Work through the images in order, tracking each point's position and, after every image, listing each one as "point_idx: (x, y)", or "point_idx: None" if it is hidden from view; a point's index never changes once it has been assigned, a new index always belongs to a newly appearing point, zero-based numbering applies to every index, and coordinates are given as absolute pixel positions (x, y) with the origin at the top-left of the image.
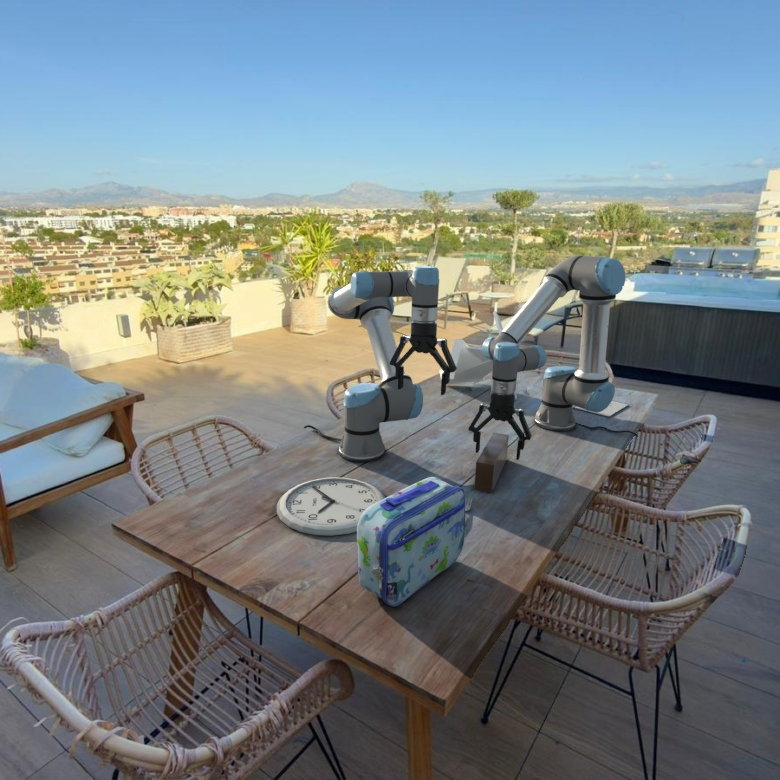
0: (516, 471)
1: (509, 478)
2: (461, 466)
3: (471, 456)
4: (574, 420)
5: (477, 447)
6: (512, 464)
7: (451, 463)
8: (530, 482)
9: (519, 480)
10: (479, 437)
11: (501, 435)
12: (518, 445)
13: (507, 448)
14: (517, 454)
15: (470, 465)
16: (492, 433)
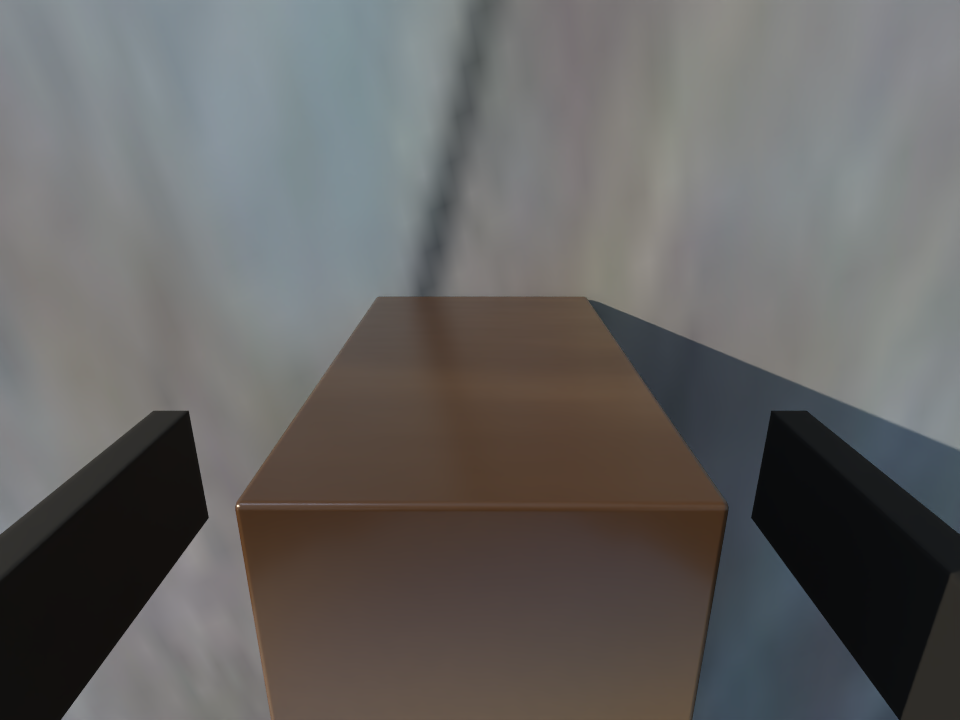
0: (723, 552)
1: None
2: (165, 644)
3: (146, 381)
4: None
5: (157, 572)
6: (672, 405)
7: None
8: (853, 701)
9: (752, 701)
10: (42, 667)
11: (525, 623)
12: (914, 716)
13: (624, 356)
14: (803, 570)
15: (236, 595)
16: (249, 588)
